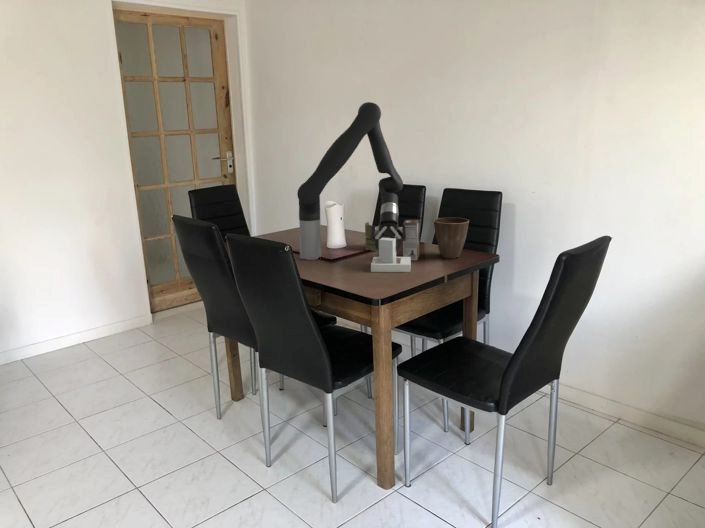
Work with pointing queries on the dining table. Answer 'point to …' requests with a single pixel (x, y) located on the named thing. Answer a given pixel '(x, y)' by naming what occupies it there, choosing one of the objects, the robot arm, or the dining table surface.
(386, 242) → the skincare box
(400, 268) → the white rectangular tray
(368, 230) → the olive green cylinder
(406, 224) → the coffee box
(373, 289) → the dining table surface
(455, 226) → the plant pot
